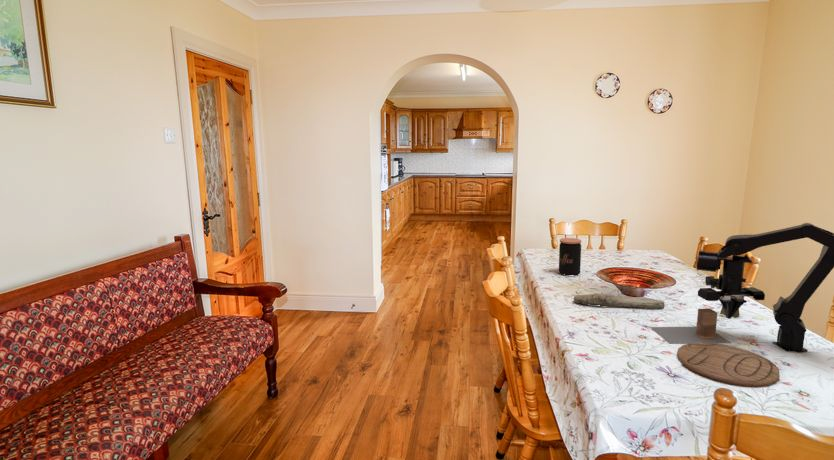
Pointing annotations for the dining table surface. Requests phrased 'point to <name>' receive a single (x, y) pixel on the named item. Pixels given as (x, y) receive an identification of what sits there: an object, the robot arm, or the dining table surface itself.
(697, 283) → the dining table surface
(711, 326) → the walnut block
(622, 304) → the long grey stone
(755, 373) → the trivet
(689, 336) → the rubber mat
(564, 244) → the coffee jar
